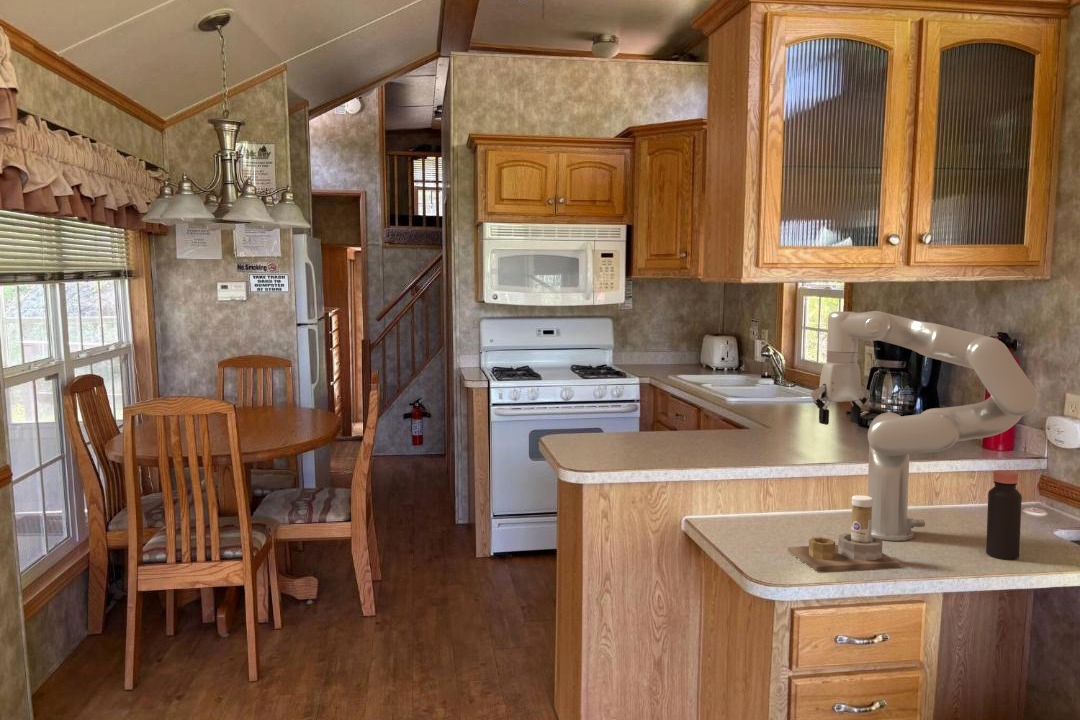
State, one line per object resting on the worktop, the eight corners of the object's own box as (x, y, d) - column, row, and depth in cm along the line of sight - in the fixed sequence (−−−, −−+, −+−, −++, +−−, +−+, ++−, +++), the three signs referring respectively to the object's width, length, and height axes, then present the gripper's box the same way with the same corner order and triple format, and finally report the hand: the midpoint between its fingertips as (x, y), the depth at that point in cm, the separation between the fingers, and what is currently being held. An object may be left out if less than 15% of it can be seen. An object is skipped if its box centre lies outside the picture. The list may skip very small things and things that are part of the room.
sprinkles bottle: (847, 553, 180) (849, 497, 179) (854, 549, 183) (855, 493, 182) (867, 557, 177) (869, 500, 176) (874, 552, 180) (875, 496, 179)
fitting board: (864, 548, 188) (865, 529, 187) (899, 567, 174) (899, 547, 174) (787, 552, 185) (787, 532, 185) (816, 571, 171) (816, 551, 171)
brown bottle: (980, 551, 185) (983, 469, 184) (1008, 551, 185) (1011, 469, 184) (995, 560, 178) (999, 475, 177) (1025, 560, 178) (1029, 475, 177)
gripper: (860, 357, 207) (857, 420, 208) (804, 358, 203) (802, 422, 204) (879, 359, 200) (877, 424, 201) (822, 360, 195) (820, 426, 197)
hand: (839, 423), depth 203 cm, fingers open, 9 cm apart
